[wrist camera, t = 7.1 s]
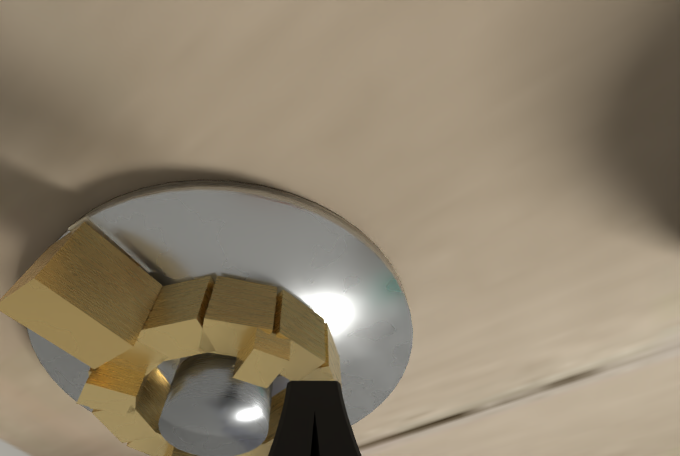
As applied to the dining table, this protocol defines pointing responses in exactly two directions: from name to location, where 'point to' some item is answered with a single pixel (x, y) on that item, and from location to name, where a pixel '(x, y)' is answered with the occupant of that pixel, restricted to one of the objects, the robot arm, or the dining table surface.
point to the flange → (259, 267)
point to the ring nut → (162, 332)
